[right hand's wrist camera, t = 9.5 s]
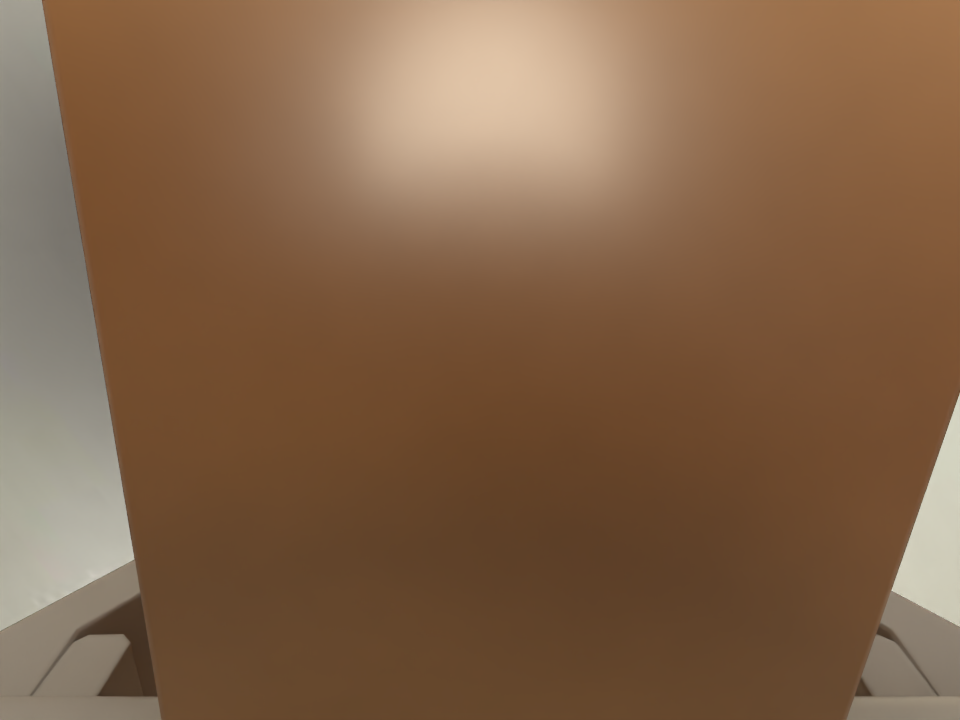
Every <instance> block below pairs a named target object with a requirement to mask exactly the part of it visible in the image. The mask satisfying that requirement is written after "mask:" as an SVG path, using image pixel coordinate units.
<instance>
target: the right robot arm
mask: <svg viewBox="0 0 960 720" xmlns="http://www.w3.org/2000/svg"><path fill="white" fill-rule="evenodd" d="M0 720H161V715H160V709H159V703H158V697H157V691H156V685H155V679H154V673H153V666H152V660H151V654H150V648H149V642H148V636H147V630H146V624H145V618H144V612H143V606H142V600H141V594H140V588H139V582H138V576H137V570H136V564H135V560H133V561H131V562H129V563H127V564H125V565H123V566H122V567H120V568H118V569H116V570H114V571H112V572H110V573H108V574H107V575H105V576H103V577H101V578H99V579H97V580H95V581H93V582H92V583H90V584H88V585H86V586H84V587H82V588H80V589H78V590H77V591H75V592H73V593H71V594H69V595H67V596H65V597H63V598H62V599H60V600H58V601H56V602H54V603H52V604H50V605H48V606H47V607H45V608H43V609H41V610H39V611H37V612H35V613H33V614H32V615H30V616H28V617H26V618H24V619H22V620H20V621H18V622H17V623H15V624H13V625H11V626H9V627H7V628H5V629H3V630H2V631H0ZM846 720H960V627H959V626H957V625H955V624H953V623H951V622H949V621H947V620H946V619H944V618H942V617H940V616H938V615H936V614H934V613H932V612H930V611H929V610H927V609H925V608H923V607H921V606H919V605H917V604H915V603H913V602H912V601H910V600H908V599H906V598H904V597H902V596H900V595H898V594H897V593H895V592H893V591H891V592H890V595H889V598H888V601H887V604H886V607H885V610H884V613H883V616H882V618H881V621H880V624H879V627H878V630H877V633H876V636H875V639H874V642H873V644H872V647H871V650H870V653H869V656H868V659H867V662H866V665H865V668H864V670H863V673H862V676H861V679H860V682H859V685H858V688H857V691H856V693H855V696H854V699H853V702H852V705H851V708H850V711H849V714H848V717H847V719H846Z"/></svg>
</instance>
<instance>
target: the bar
mask: <svg viewBox="0 0 960 720" xmlns="http://www.w3.org/2000/svg"><path fill="white" fill-rule="evenodd" d="M42 3H43V10H44V16H45V22H46V28H47V34H48V40H49V46H50V52H51V58H52V64H53V70H54V76H55V82H56V88H57V94H58V100H59V106H60V112H61V118H62V124H63V130H64V136H65V142H66V148H67V154H68V160H69V166H70V172H71V178H72V184H73V190H74V196H75V202H76V208H77V214H78V220H79V226H80V233H81V239H82V245H83V251H84V257H85V263H86V269H87V275H88V281H89V287H90V293H91V299H92V305H93V311H94V317H95V323H96V329H97V335H98V341H99V347H100V353H101V359H102V365H103V371H104V377H105V383H106V389H107V395H108V401H109V407H110V413H111V419H112V425H113V431H114V437H115V443H116V450H117V456H118V462H119V468H120V474H121V480H122V486H123V492H124V498H125V504H126V510H127V516H128V522H129V528H130V534H131V540H132V546H133V552H134V558H135V564H136V570H137V576H138V582H139V588H140V594H141V600H142V606H143V612H144V618H145V624H146V630H147V636H148V642H149V648H150V654H151V660H152V666H153V673H154V679H155V685H156V691H157V697H158V703H159V709H160V715H161V720H846V719H847V717H848V714H849V711H850V708H851V705H852V702H853V699H854V696H855V693H856V691H857V688H858V685H859V682H860V679H861V676H862V673H863V670H864V668H865V665H866V662H867V659H868V656H869V653H870V650H871V647H872V644H873V642H874V639H875V636H876V633H877V630H878V627H879V624H880V621H881V618H882V616H883V613H884V610H885V607H886V604H887V601H888V598H889V595H890V592H891V590H892V587H893V584H894V581H895V578H896V575H897V572H898V569H899V567H900V564H901V561H902V558H903V555H904V552H905V549H906V546H907V543H908V541H909V538H910V535H911V532H912V529H913V526H914V523H915V520H916V517H917V515H918V512H919V509H920V506H921V503H922V500H923V497H924V494H925V492H926V489H927V486H928V483H929V480H930V477H931V474H932V471H933V468H934V466H935V463H936V460H937V457H938V454H939V451H940V448H941V445H942V442H943V440H944V437H945V434H946V431H947V428H948V425H949V422H950V419H951V416H952V414H953V411H954V408H955V405H956V402H957V399H958V396H959V393H960V0H42Z"/></svg>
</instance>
